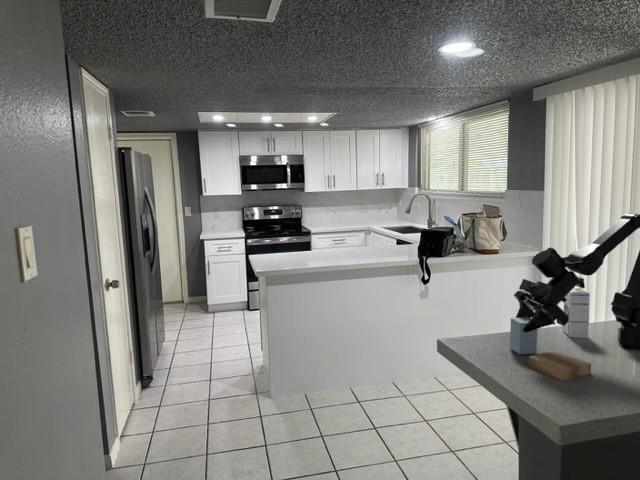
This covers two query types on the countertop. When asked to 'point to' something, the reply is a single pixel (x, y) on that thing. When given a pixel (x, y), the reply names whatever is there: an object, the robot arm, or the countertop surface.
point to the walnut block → (559, 365)
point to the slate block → (522, 337)
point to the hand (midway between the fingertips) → (518, 328)
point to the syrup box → (577, 313)
